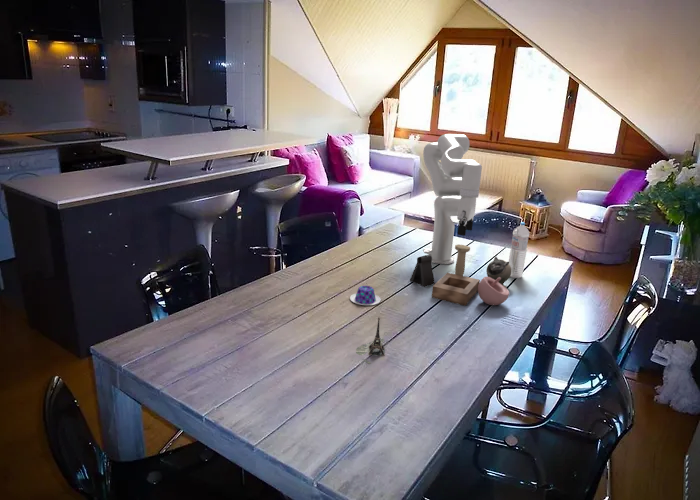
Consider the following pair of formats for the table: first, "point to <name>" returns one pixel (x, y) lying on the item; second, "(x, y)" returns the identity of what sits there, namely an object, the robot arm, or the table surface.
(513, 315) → the table surface
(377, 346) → the eiffel tower figurine
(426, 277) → the door stopper
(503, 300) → the mortar and pestle
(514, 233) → the water bottle
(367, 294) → the pudding
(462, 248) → the handle
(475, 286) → the socket block
